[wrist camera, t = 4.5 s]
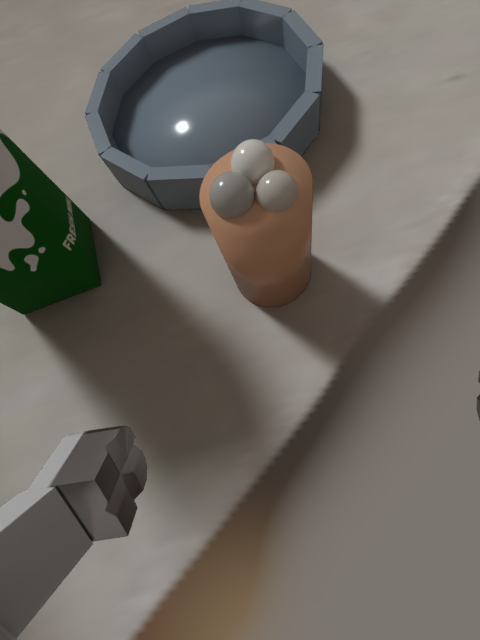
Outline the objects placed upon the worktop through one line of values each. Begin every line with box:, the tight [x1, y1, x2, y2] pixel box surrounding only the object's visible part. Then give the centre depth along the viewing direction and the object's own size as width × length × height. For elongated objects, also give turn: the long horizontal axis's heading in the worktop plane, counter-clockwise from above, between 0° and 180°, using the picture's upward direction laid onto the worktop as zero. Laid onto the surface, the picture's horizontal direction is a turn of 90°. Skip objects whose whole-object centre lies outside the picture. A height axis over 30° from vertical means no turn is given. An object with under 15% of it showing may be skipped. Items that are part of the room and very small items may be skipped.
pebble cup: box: [199, 139, 313, 307], centre depth 20 cm, size 6×6×10 cm
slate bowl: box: [85, 0, 324, 209], centre depth 29 cm, size 20×20×4 cm
